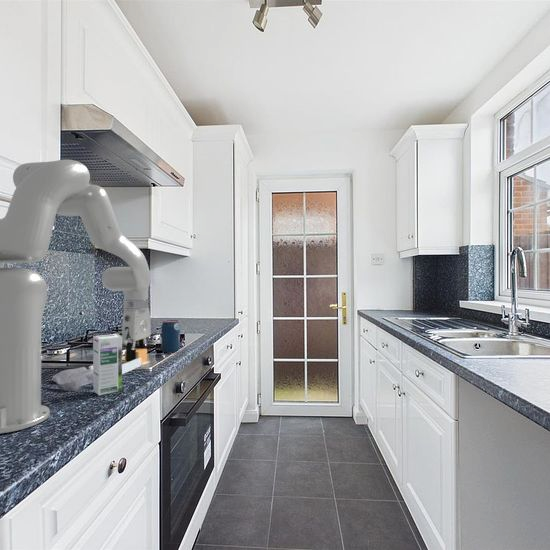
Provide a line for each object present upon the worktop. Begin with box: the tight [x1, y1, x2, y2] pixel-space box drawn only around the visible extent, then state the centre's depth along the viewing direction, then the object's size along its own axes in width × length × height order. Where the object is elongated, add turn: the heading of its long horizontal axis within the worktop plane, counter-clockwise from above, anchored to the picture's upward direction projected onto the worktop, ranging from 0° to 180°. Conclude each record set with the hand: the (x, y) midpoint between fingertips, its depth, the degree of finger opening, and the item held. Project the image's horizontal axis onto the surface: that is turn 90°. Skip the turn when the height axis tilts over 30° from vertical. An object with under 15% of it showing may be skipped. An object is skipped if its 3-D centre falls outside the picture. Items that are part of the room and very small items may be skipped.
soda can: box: [160, 319, 181, 354], centre depth 139 cm, size 7×7×12 cm
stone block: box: [52, 366, 93, 392], centre depth 98 cm, size 12×5×10 cm
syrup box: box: [92, 333, 123, 397], centre depth 92 cm, size 6×6×14 cm
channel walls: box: [88, 358, 142, 375], centre depth 108 cm, size 13×9×4 cm, turn 168°
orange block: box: [124, 347, 148, 363], centre depth 118 cm, size 5×5×4 cm
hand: (136, 358), depth 118 cm, fingers closed on orange block, 4 cm apart
